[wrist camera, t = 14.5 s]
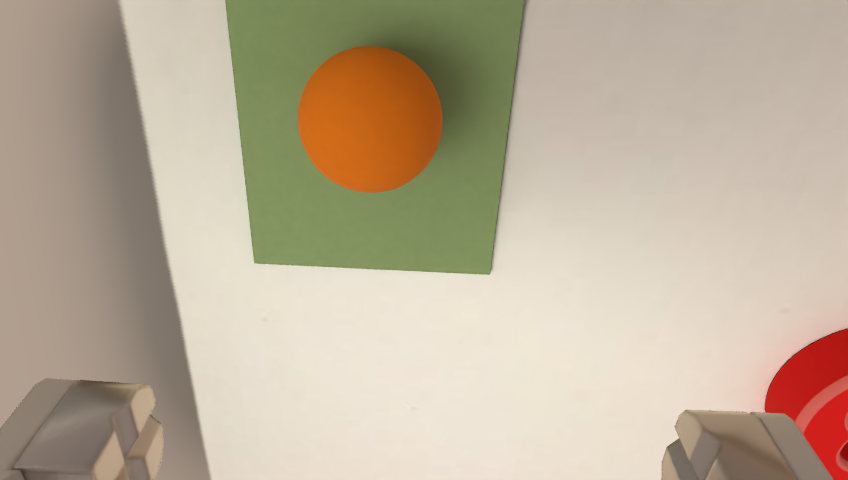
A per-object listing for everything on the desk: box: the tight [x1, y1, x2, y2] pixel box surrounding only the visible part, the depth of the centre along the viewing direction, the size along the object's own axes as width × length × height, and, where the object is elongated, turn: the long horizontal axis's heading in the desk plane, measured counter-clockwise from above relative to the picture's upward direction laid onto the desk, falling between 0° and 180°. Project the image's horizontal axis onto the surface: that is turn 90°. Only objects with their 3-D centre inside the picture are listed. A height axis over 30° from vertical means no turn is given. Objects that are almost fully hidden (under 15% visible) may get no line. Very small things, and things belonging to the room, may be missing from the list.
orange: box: [298, 46, 443, 193], centre depth 24 cm, size 6×6×6 cm
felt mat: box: [225, 0, 524, 275], centre depth 26 cm, size 18×12×1 cm, turn 177°
